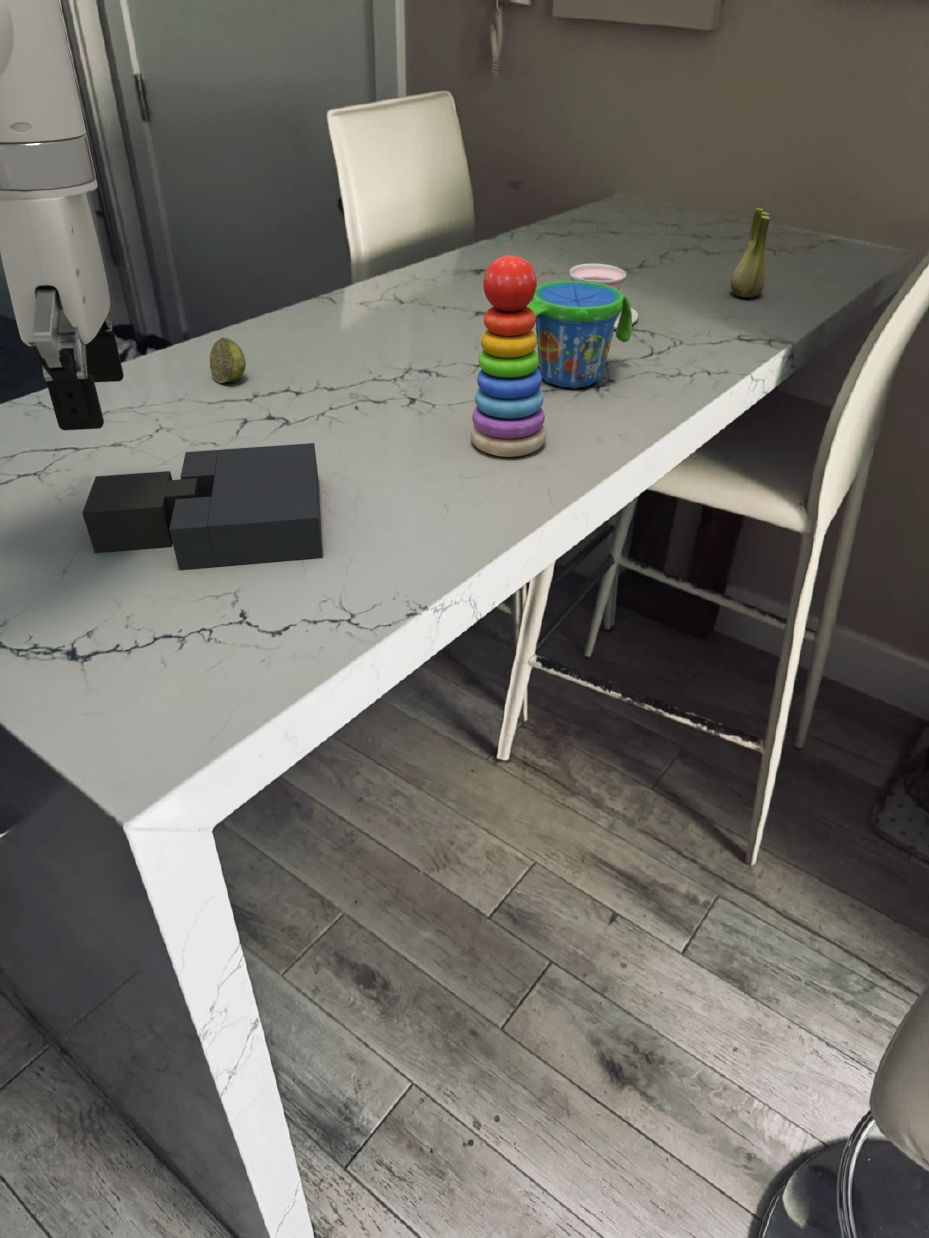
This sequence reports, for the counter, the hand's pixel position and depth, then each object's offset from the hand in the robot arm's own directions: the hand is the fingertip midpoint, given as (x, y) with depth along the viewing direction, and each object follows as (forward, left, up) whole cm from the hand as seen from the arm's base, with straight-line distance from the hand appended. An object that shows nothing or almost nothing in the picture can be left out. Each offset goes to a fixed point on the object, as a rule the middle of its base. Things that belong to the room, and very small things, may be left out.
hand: (94, 403), depth 70 cm
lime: (+7, +35, -13) cm, 37 cm away
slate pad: (+11, +1, -12) cm, 17 cm away
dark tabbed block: (+2, +1, -12) cm, 13 cm away
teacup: (+57, +50, -13) cm, 77 cm away
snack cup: (+48, +29, -13) cm, 57 cm away
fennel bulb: (+82, +56, -13) cm, 100 cm away
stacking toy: (+37, +13, -13) cm, 41 cm away
